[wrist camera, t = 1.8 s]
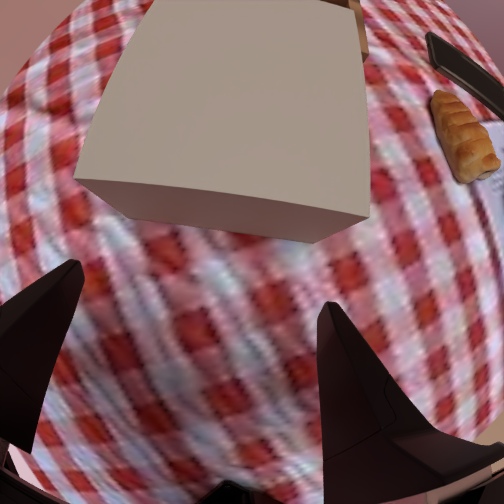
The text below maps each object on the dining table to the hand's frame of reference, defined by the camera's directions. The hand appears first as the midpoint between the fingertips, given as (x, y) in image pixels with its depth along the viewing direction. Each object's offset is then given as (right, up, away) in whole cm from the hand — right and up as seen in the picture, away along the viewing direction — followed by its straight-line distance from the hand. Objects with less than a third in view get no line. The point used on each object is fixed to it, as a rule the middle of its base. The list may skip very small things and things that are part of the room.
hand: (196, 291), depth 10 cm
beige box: (+1, +10, +9) cm, 13 cm away
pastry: (+21, +11, +12) cm, 27 cm away
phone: (+30, +23, +14) cm, 40 cm away
